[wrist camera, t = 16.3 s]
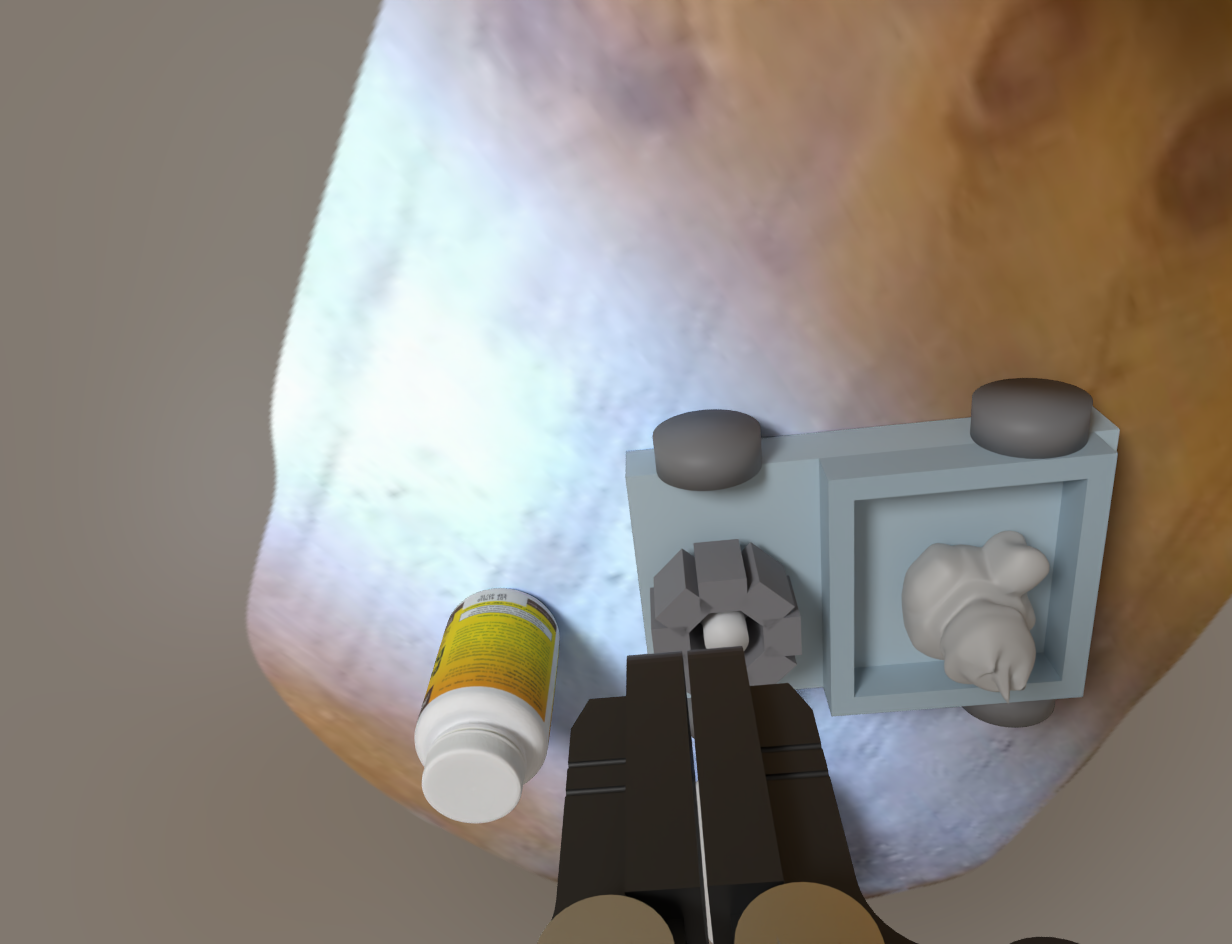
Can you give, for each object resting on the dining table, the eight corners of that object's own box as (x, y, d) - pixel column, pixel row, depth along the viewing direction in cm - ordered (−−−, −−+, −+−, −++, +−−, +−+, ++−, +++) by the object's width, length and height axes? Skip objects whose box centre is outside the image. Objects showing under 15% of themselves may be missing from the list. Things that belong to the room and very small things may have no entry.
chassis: (621, 418, 39) (619, 484, 34) (1096, 370, 38) (1174, 430, 33) (655, 692, 46) (658, 784, 41) (1059, 659, 45) (1119, 750, 39)
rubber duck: (858, 589, 40) (907, 713, 33) (961, 479, 38) (1039, 587, 31) (950, 644, 42) (1017, 775, 34) (1056, 541, 39) (1151, 660, 32)
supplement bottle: (440, 584, 43) (389, 735, 34) (556, 580, 43) (536, 732, 34) (455, 676, 46) (412, 841, 37) (565, 673, 46) (548, 837, 37)
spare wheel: (645, 547, 39) (645, 587, 36) (787, 534, 38) (799, 573, 35) (658, 660, 41) (660, 705, 38) (791, 649, 41) (803, 693, 38)
